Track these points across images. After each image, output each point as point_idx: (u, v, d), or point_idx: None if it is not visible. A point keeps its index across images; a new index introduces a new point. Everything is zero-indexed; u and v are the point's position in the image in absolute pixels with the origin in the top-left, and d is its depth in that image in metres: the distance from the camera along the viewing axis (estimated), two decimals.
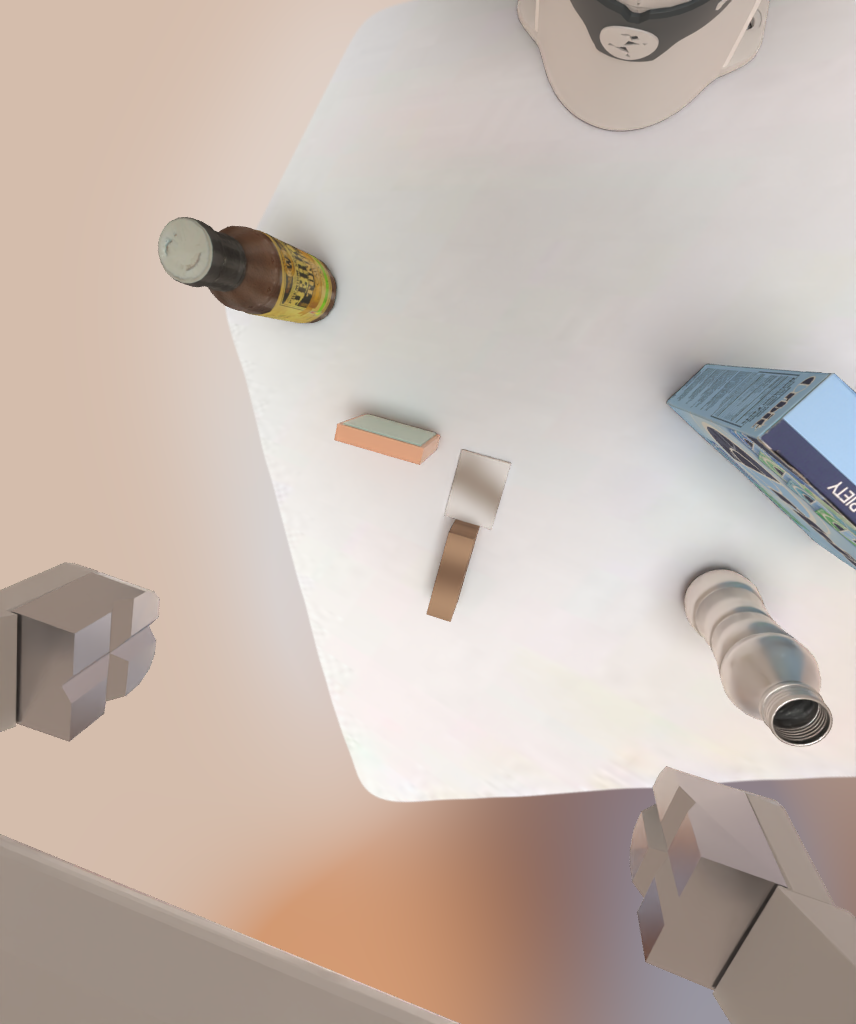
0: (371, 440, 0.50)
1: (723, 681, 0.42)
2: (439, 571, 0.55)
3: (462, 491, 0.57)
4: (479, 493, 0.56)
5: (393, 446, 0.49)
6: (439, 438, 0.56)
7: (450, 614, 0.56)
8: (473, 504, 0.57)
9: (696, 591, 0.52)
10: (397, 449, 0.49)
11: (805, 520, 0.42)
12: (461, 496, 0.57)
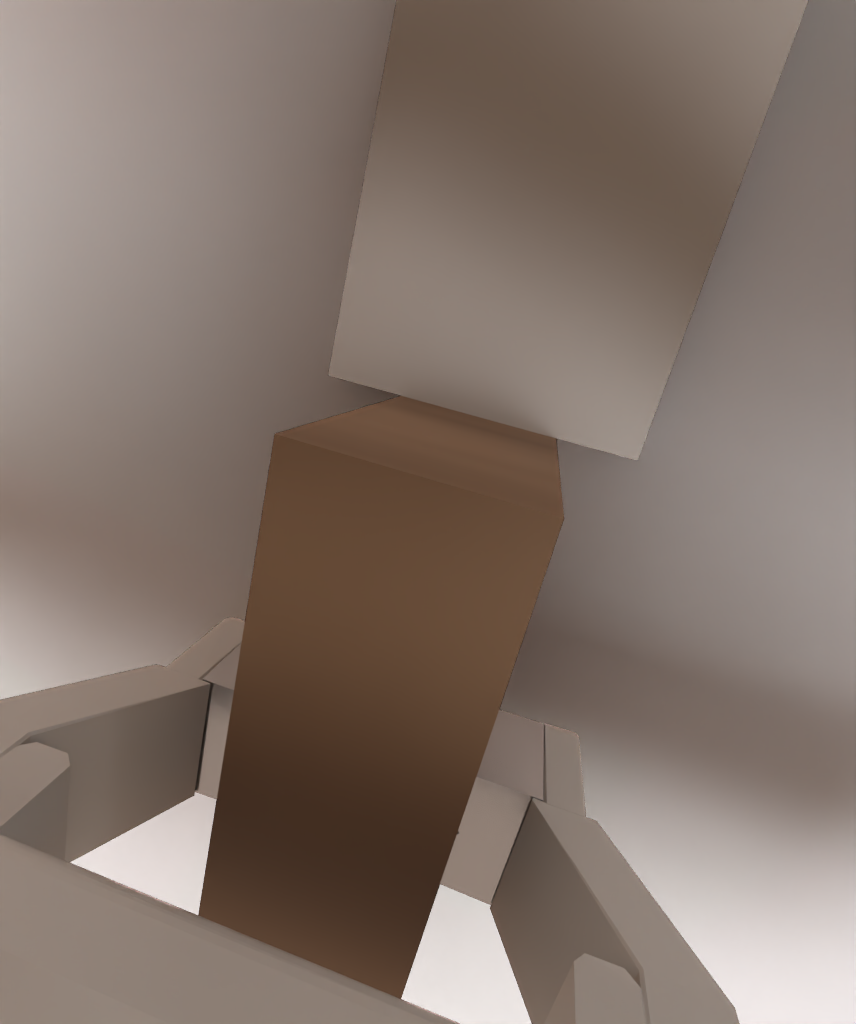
0: None
1: None
2: (226, 811, 0.06)
3: (438, 182, 0.08)
4: (565, 189, 0.08)
5: None
6: None
7: None
8: (518, 281, 0.08)
9: None
10: None
11: None
12: (435, 227, 0.08)
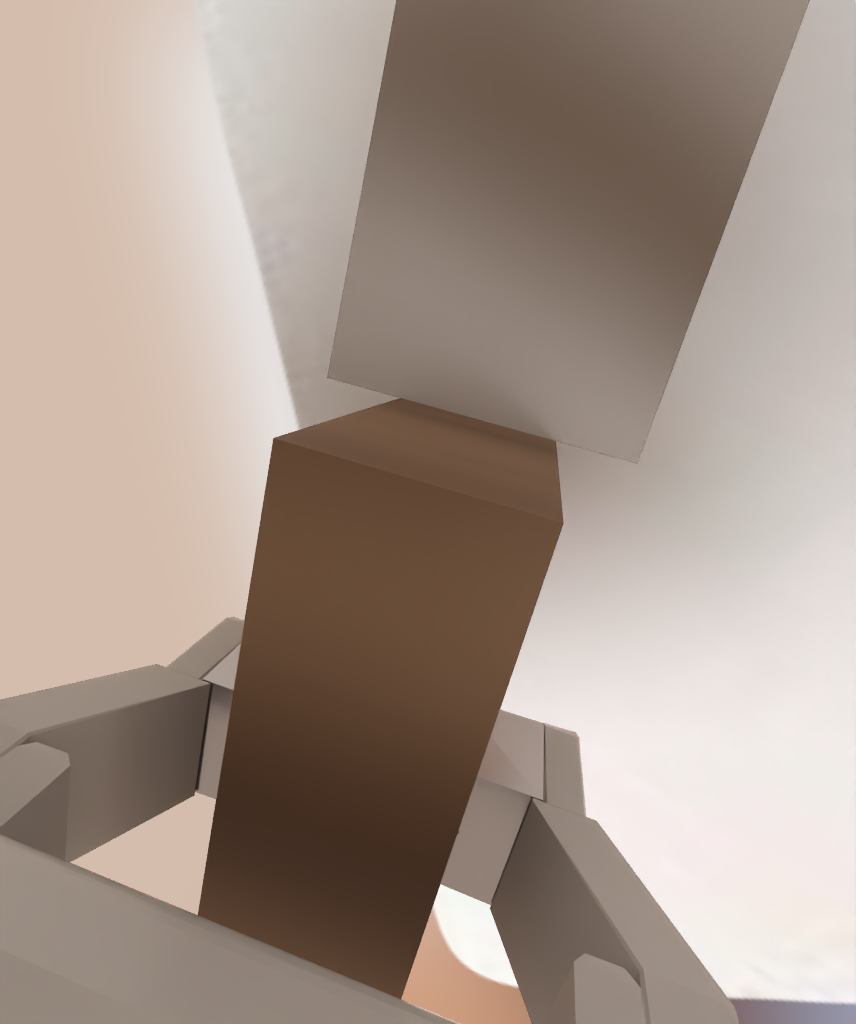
0: None
1: None
2: (225, 814, 0.06)
3: (438, 185, 0.08)
4: (564, 191, 0.08)
5: None
6: None
7: None
8: (518, 284, 0.08)
9: None
10: None
11: None
12: (434, 229, 0.08)
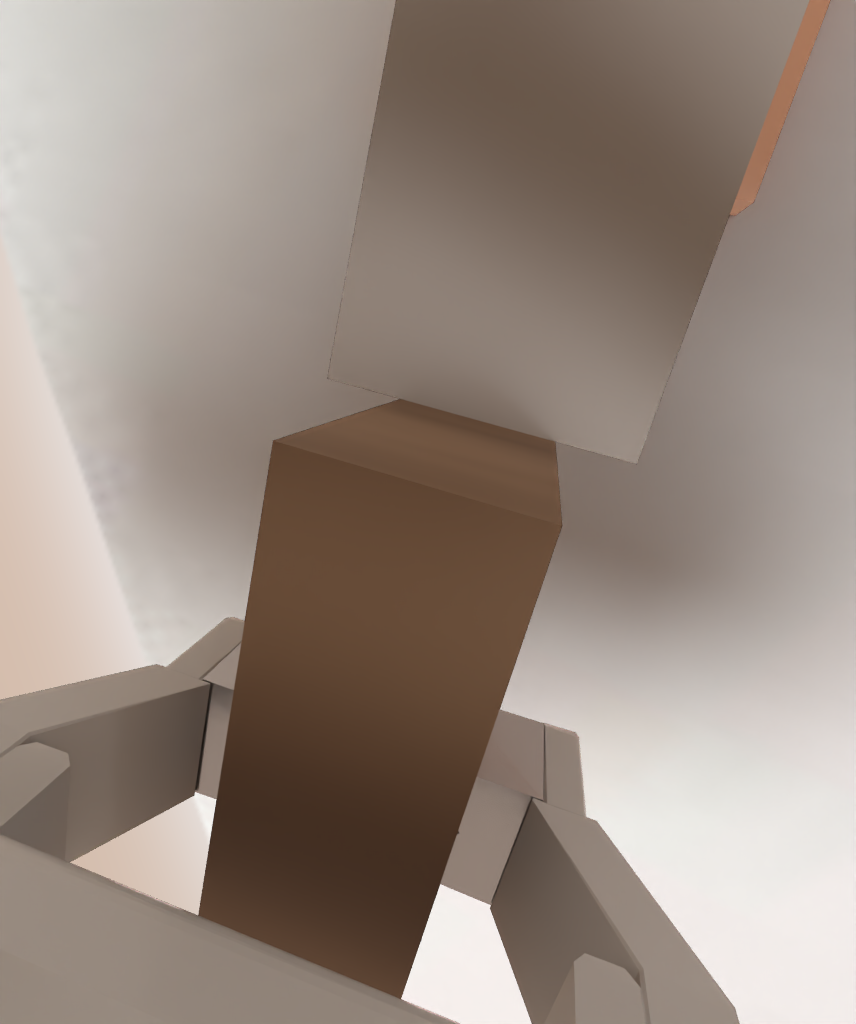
0: None
1: None
2: (225, 815, 0.06)
3: (437, 186, 0.08)
4: (564, 192, 0.08)
5: None
6: None
7: None
8: (518, 285, 0.08)
9: None
10: None
11: None
12: (434, 230, 0.08)
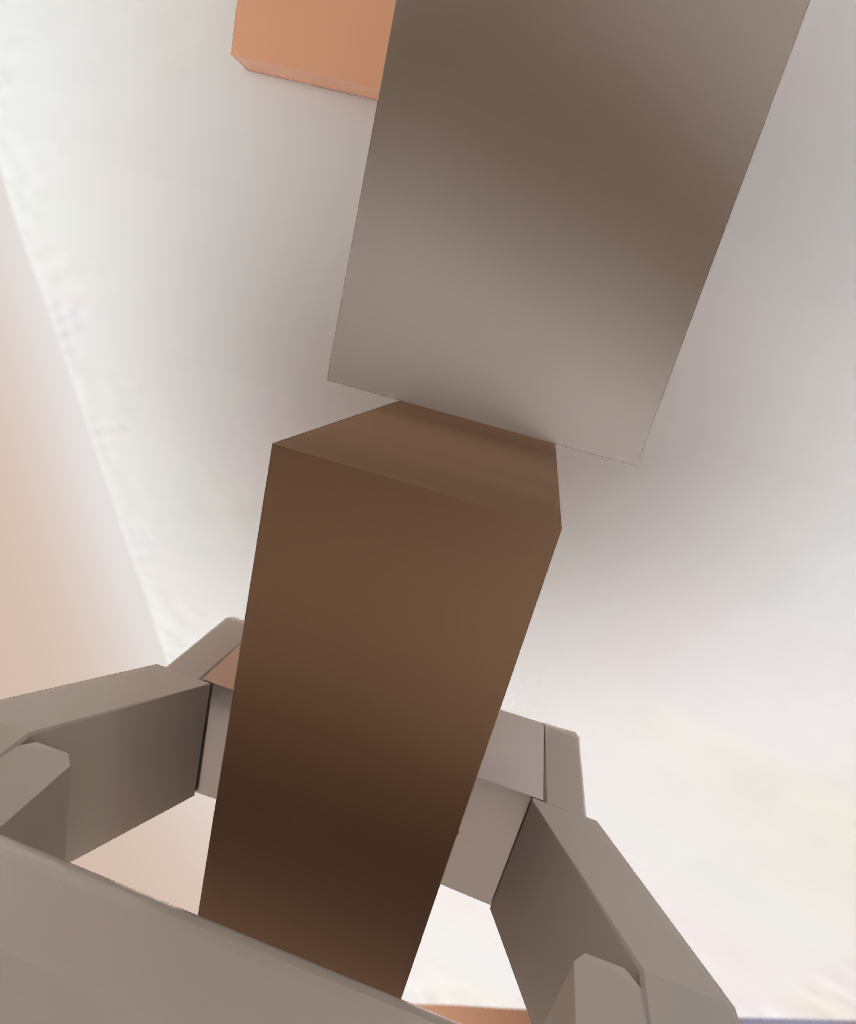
0: None
1: None
2: (224, 817, 0.06)
3: (437, 187, 0.08)
4: (564, 194, 0.08)
5: None
6: None
7: None
8: (517, 287, 0.08)
9: None
10: None
11: None
12: (434, 232, 0.08)
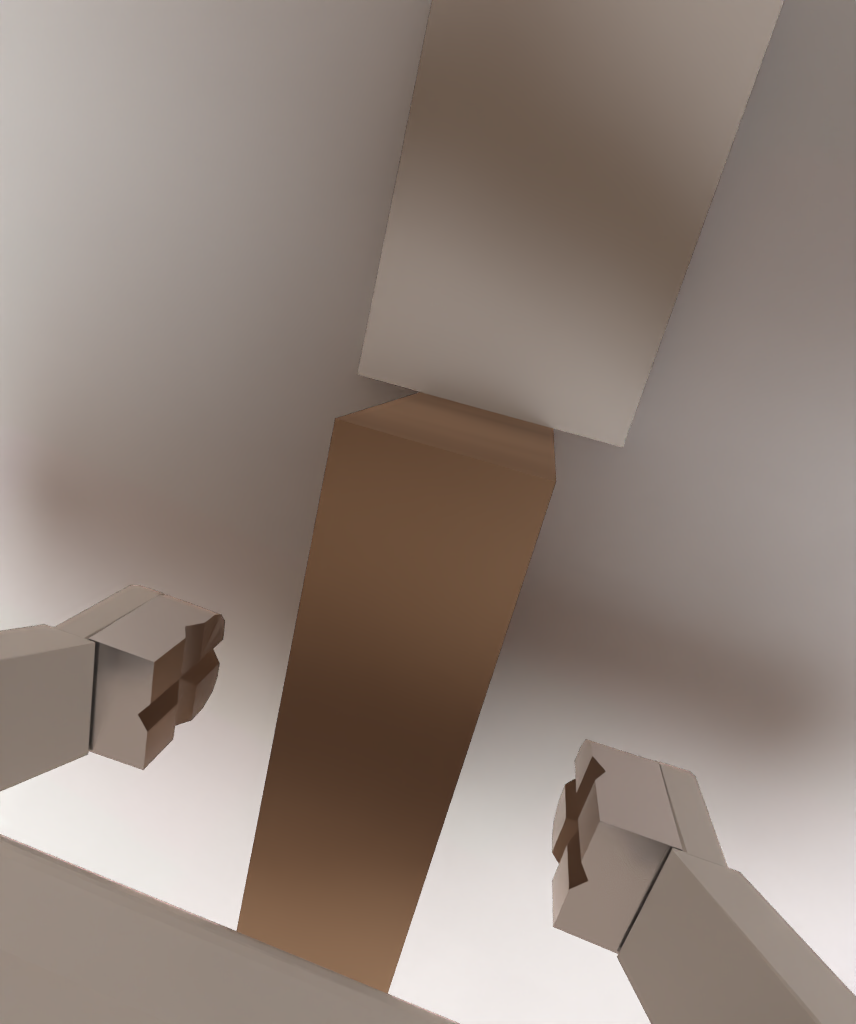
0: None
1: None
2: (285, 724, 0.08)
3: (454, 212, 0.09)
4: (560, 218, 0.09)
5: None
6: None
7: (375, 988, 0.09)
8: (521, 295, 0.10)
9: None
10: None
11: None
12: (450, 248, 0.10)
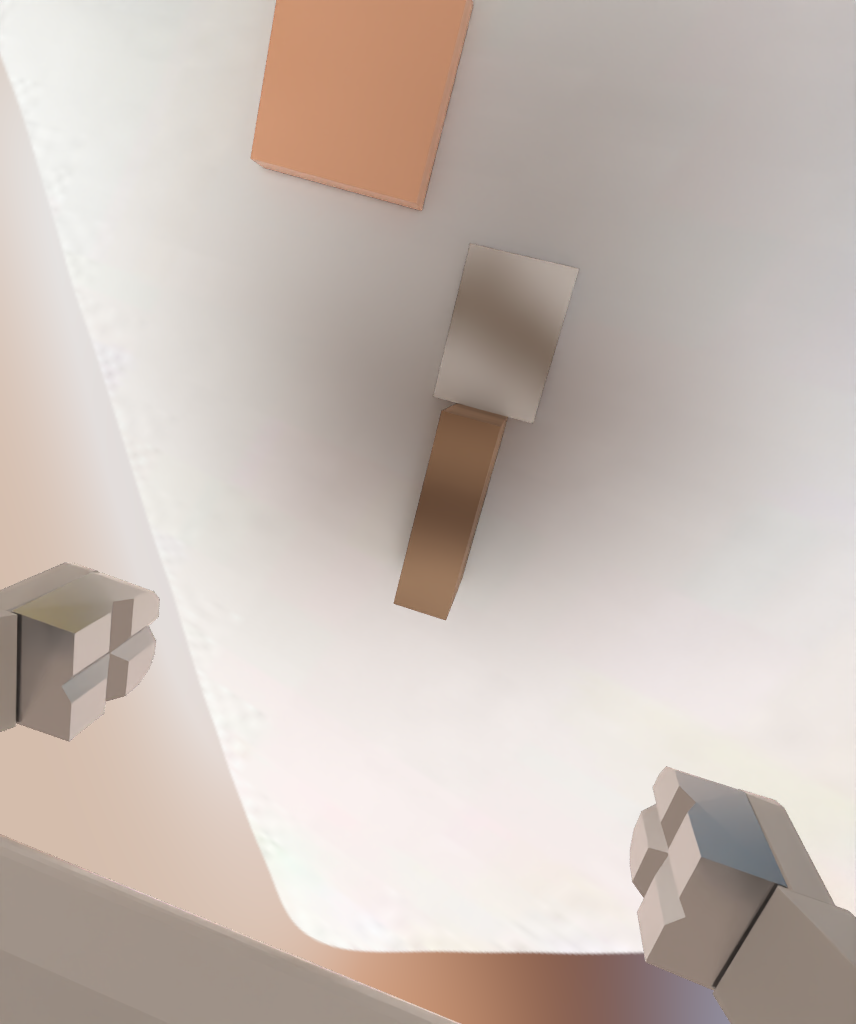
0: None
1: None
2: (420, 505, 0.24)
3: (470, 338, 0.26)
4: (508, 342, 0.26)
5: None
6: None
7: (446, 603, 0.25)
8: (495, 368, 0.27)
9: None
10: None
11: None
12: (469, 351, 0.27)
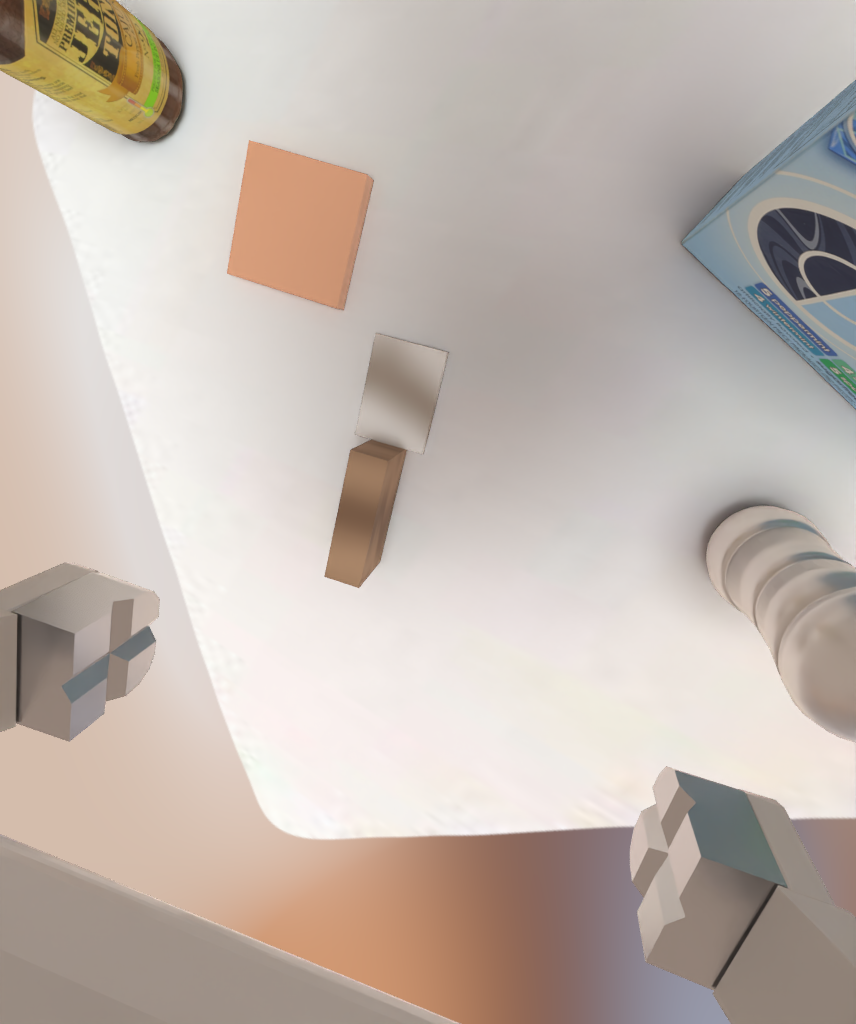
0: None
1: (785, 673, 0.24)
2: (339, 511, 0.37)
3: (378, 396, 0.39)
4: (403, 399, 0.38)
5: None
6: (343, 308, 0.38)
7: (358, 576, 0.38)
8: (395, 416, 0.39)
9: (726, 537, 0.34)
10: None
11: None
12: (378, 404, 0.39)
